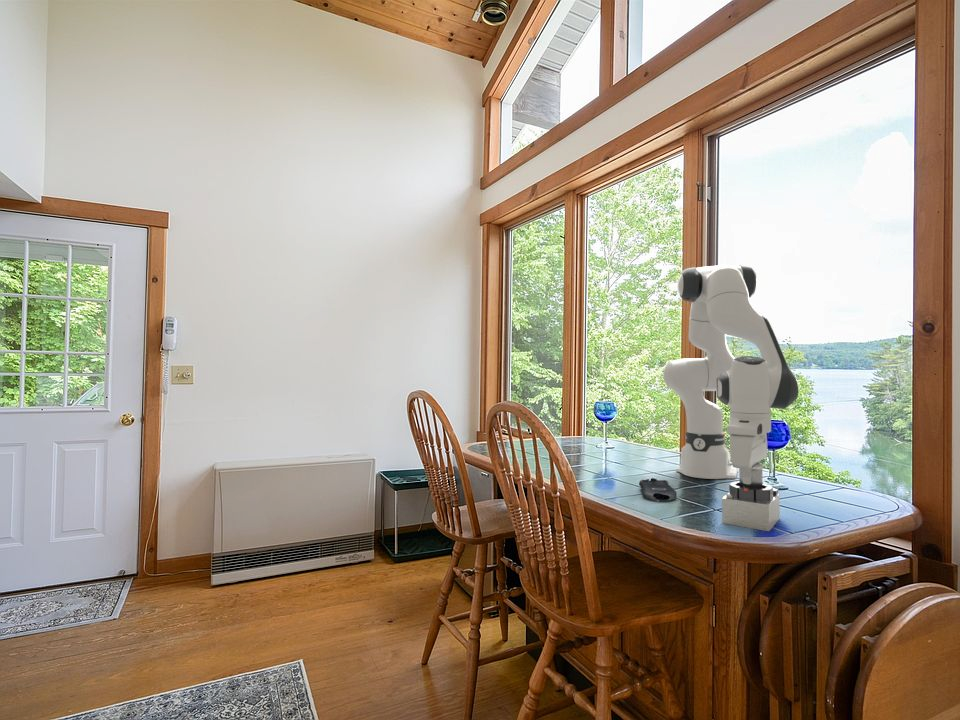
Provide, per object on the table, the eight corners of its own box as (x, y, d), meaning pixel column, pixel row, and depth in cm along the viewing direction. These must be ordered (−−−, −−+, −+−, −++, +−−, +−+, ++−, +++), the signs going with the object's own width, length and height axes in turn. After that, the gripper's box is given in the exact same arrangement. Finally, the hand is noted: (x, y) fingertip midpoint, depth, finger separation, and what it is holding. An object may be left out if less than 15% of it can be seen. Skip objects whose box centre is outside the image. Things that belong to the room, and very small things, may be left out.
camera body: (736, 510, 137) (735, 476, 137) (780, 517, 131) (779, 482, 131) (722, 523, 127) (721, 486, 127) (769, 531, 121) (768, 492, 121)
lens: (742, 488, 133) (741, 459, 133) (765, 491, 129) (764, 461, 129) (736, 492, 129) (736, 462, 129) (760, 495, 125) (759, 465, 125)
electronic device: (635, 494, 162) (644, 500, 147) (637, 475, 163) (646, 479, 148) (667, 499, 161) (679, 505, 146) (669, 480, 161) (681, 485, 147)
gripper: (746, 418, 139) (747, 471, 139) (724, 427, 123) (725, 487, 123) (773, 420, 135) (774, 475, 135) (754, 429, 119) (755, 491, 119)
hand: (750, 481), depth 129 cm, fingers closed on lens, 5 cm apart
